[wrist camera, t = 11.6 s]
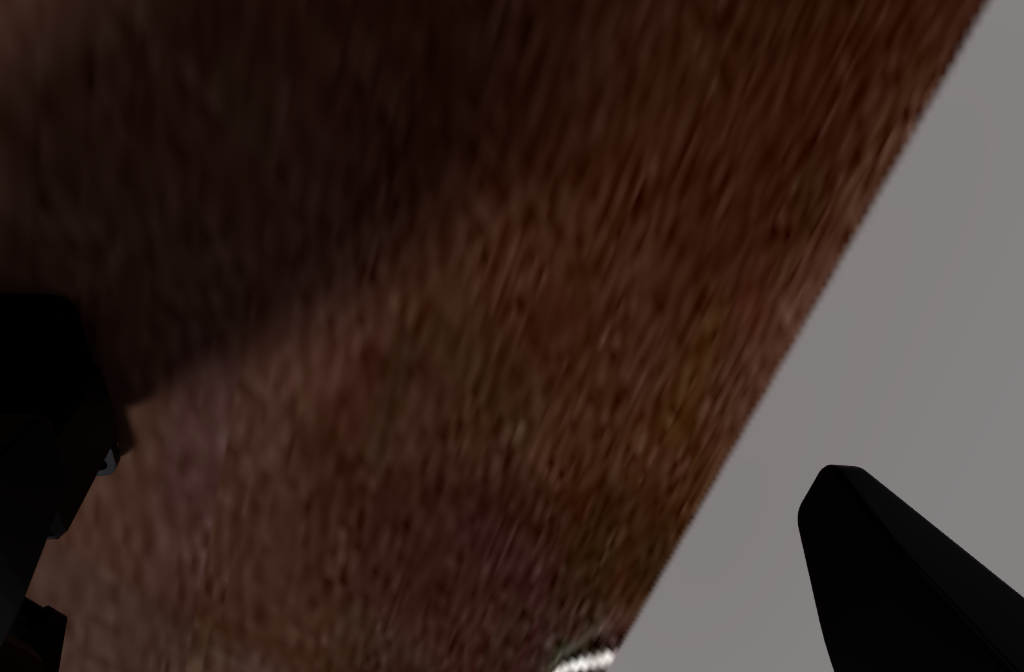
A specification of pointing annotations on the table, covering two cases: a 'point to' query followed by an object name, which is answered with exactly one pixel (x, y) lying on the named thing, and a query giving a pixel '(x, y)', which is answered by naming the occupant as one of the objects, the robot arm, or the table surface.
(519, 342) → the table surface
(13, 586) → the robot arm
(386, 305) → the table surface
